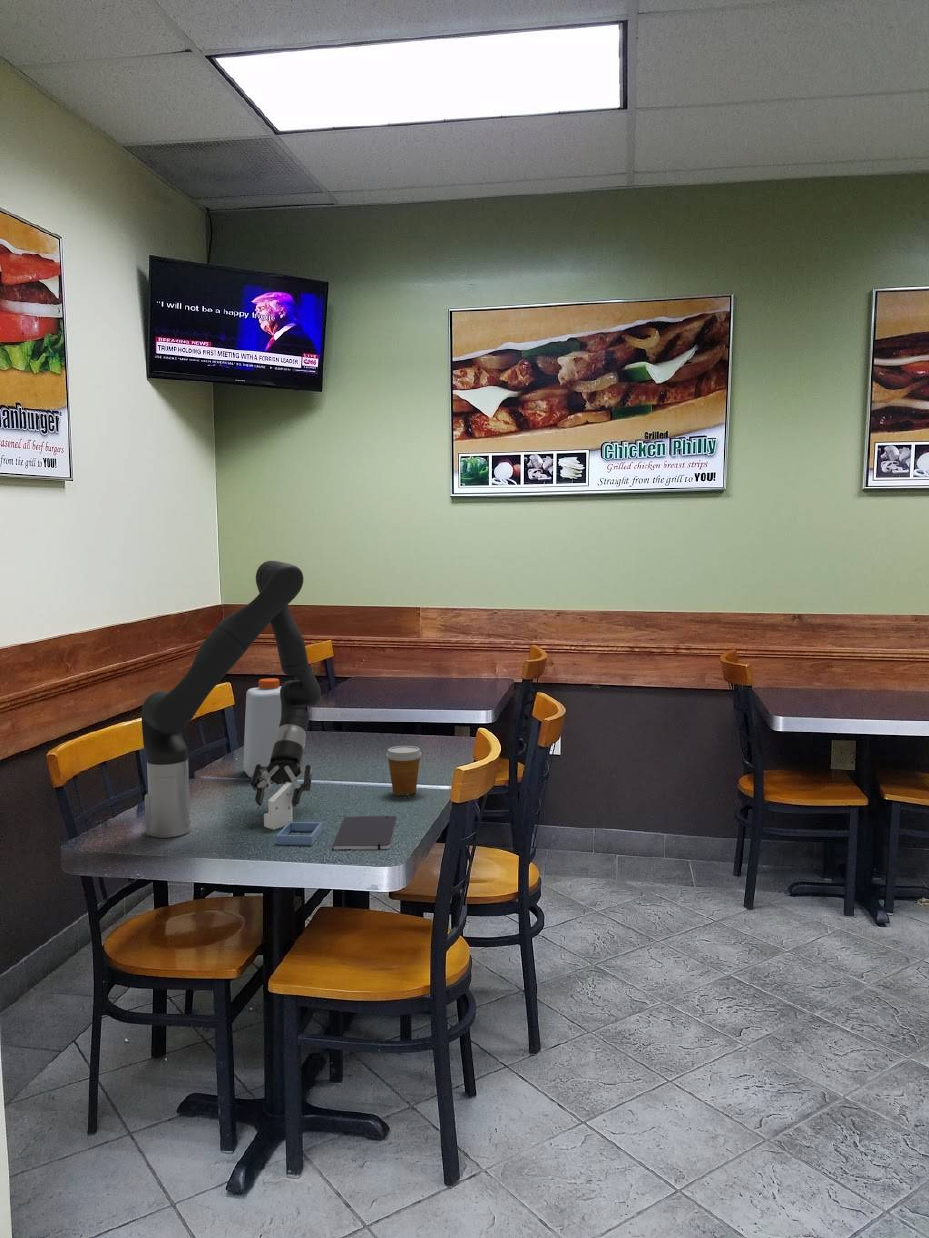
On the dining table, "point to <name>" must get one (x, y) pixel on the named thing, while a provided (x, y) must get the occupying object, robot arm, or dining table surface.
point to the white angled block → (280, 808)
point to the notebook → (365, 833)
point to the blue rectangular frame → (286, 839)
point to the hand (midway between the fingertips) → (276, 804)
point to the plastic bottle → (261, 724)
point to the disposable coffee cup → (404, 768)
